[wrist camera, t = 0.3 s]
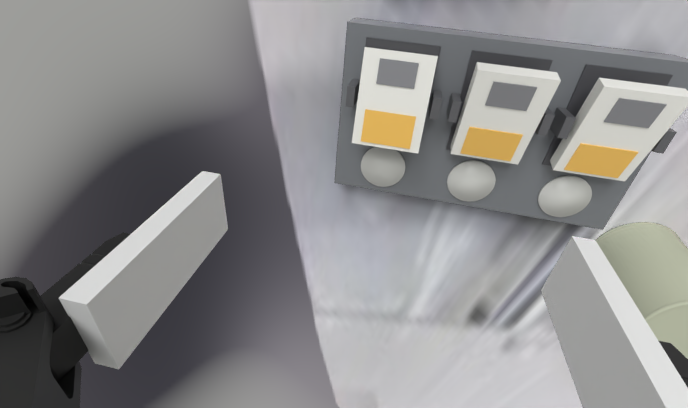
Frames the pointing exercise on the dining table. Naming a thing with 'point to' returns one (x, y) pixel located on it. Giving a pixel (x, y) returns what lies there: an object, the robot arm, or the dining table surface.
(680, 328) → the can
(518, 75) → the rocker middle
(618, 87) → the rocker
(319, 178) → the dining table surface
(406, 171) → the rocker switch panel
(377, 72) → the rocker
